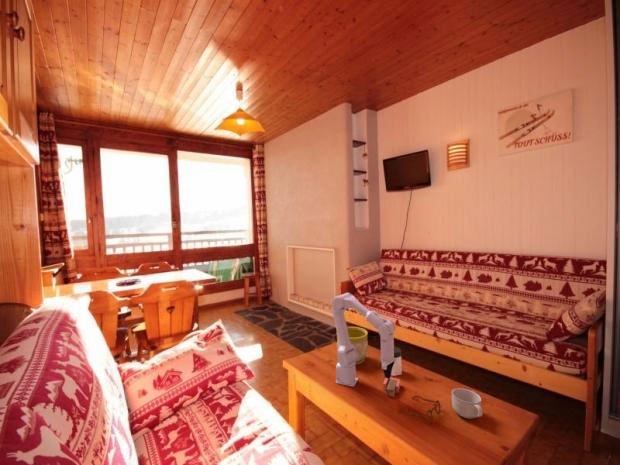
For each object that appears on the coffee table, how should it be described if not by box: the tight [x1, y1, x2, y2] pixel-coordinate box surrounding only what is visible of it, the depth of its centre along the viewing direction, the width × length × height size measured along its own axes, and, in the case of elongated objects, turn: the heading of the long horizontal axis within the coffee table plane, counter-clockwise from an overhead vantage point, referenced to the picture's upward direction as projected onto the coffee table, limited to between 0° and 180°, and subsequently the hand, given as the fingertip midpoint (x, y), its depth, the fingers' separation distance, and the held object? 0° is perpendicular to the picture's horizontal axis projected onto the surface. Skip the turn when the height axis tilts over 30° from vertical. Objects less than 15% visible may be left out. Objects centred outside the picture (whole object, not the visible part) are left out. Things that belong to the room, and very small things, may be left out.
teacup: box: [451, 387, 484, 420], centre depth 119 cm, size 14×11×8 cm
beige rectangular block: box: [386, 379, 397, 398], centre depth 138 cm, size 3×9×4 cm, turn 154°
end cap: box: [382, 377, 401, 394], centre depth 141 cm, size 7×7×3 cm
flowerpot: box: [336, 326, 369, 366], centre depth 171 cm, size 18×18×16 cm
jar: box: [391, 346, 403, 377], centre depth 156 cm, size 9×8×12 cm
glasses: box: [398, 395, 441, 425], centre depth 124 cm, size 13×13×5 cm
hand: (387, 377), depth 133 cm, fingers closed
